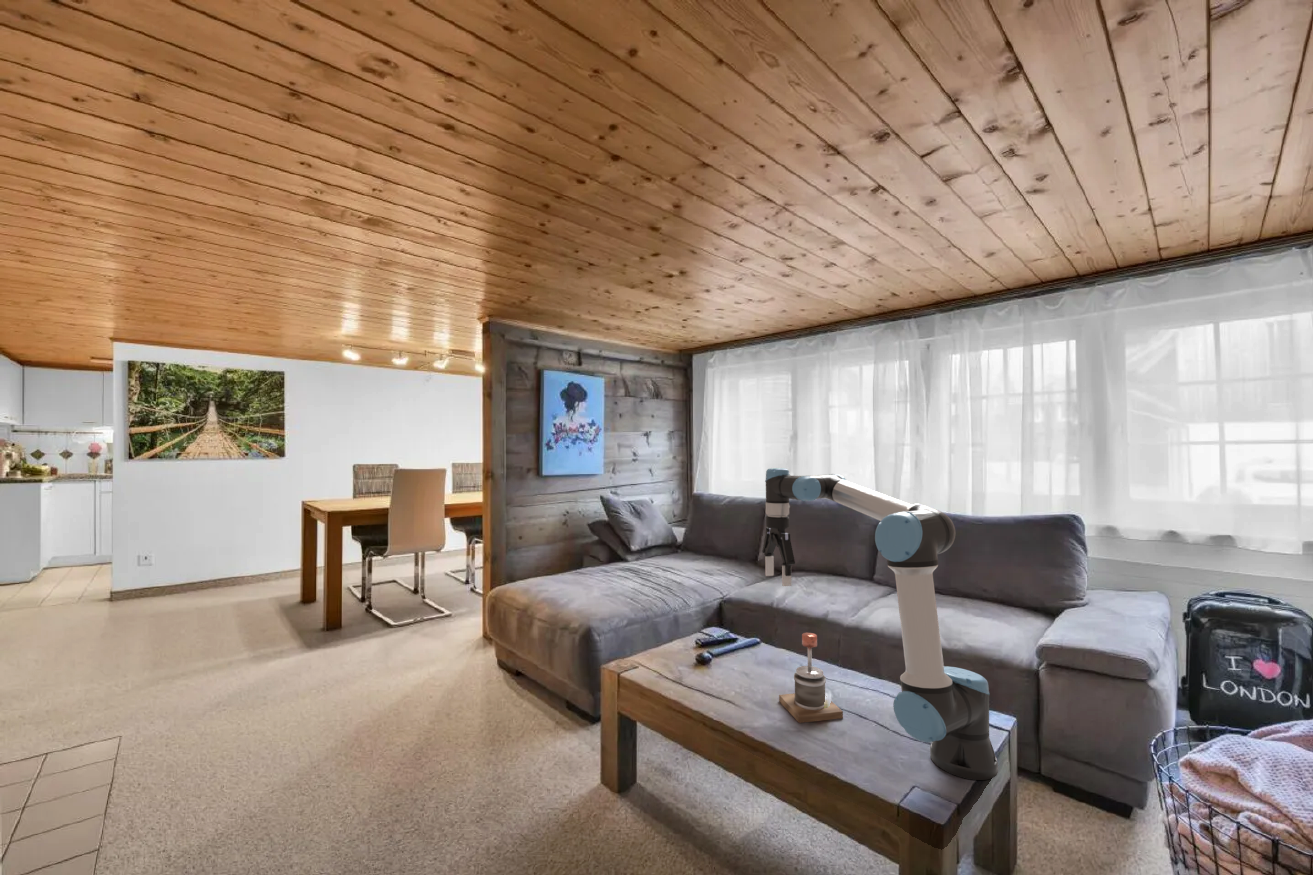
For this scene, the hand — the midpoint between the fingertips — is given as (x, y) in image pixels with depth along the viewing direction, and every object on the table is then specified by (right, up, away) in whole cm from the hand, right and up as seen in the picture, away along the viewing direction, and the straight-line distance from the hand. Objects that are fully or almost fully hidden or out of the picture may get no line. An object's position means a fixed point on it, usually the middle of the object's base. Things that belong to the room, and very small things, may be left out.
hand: (777, 580), depth 181 cm
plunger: (+7, -26, -11) cm, 29 cm away
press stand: (+7, -37, -11) cm, 39 cm away
